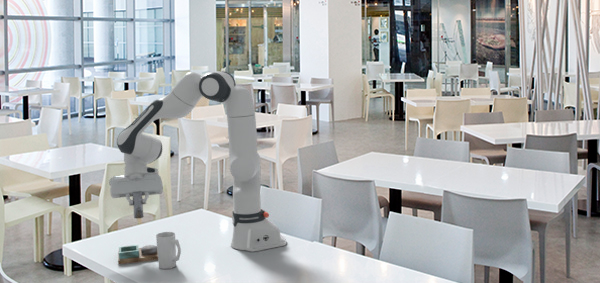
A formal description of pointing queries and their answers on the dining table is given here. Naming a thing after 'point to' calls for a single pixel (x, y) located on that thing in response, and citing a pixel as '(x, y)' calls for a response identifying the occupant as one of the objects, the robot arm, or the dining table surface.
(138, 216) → the pin
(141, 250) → the nut block
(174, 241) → the mug
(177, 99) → the robot arm
